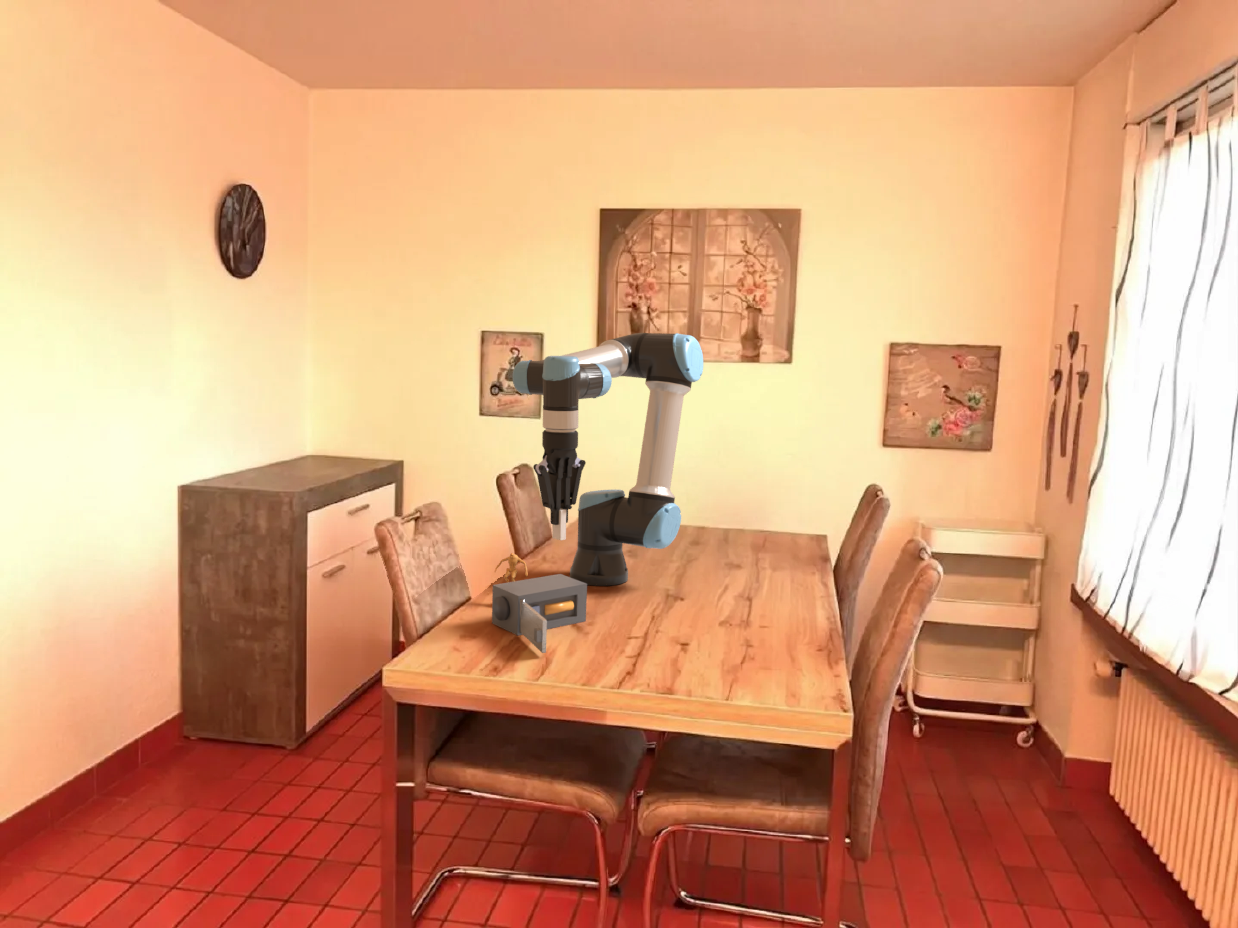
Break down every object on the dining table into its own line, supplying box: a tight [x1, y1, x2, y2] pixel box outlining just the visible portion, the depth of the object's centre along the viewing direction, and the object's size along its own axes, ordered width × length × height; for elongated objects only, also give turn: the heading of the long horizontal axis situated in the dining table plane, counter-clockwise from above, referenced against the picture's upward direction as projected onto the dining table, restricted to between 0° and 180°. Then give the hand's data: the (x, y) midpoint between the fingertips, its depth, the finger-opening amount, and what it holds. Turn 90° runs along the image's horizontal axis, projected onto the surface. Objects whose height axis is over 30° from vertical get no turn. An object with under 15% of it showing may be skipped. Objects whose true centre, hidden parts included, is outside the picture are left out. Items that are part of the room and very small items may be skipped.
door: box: [519, 599, 548, 654], centre depth 187 cm, size 14×2×7 cm, turn 24°
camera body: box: [491, 573, 588, 636], centre depth 203 cm, size 19×10×8 cm, turn 130°
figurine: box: [494, 552, 528, 583], centre depth 216 cm, size 8×6×12 cm
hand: (559, 538), depth 200 cm, fingers closed
